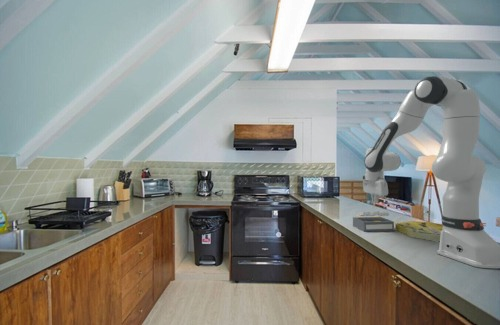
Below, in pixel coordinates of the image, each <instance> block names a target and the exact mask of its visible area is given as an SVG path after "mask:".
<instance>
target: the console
mask: <svg viewBox="0 0 500 325" xmlns="http://www.w3.org/2000/svg"><path fill="white" fill-rule="evenodd" d="M352 227H355V228H356V229H358V230H360V231H362V232H364V233H367V232H369V233H370V232H373V233H375V232H395V222H394V221H393V220H390V219H388V218H385V217H383V216H379V215H374V216H353V217H352Z"/></svg>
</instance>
